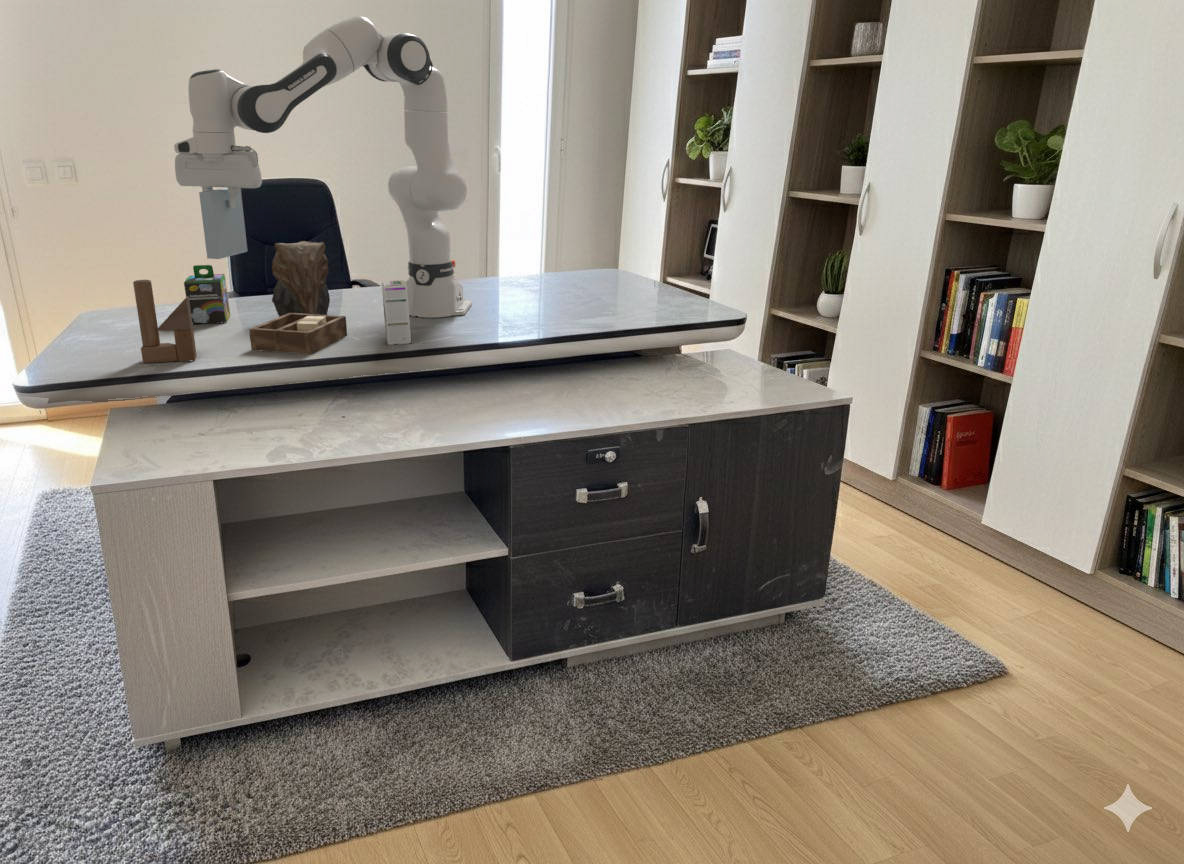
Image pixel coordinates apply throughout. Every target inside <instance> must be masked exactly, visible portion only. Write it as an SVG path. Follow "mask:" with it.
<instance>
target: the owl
mask: <svg viewBox="0 0 1184 864" xmlns="http://www.w3.org/2000/svg"><path fill="white" fill-rule="evenodd" d="M274 248H275V250H276V252H275V255H274V257H273V259H272V265H271V271H272V275H273V277H274V278H275V279H276V281H277V283H276V285H275V286H274V288H273V295H272V298H271V302H272V303H273V306H274V308H275V310H276V312H277V313H276V314H277V315H278V317H280V316H283V315H285V314H288V313H301V314H317V315H328V311H329V307H330V302H331V301H330V300H331V299H330V293H329V289H328V287H327V276H328V274H329V264H328V263H329V260H328V258H327V256H326V253H325V251H326V244H325V242H324V241H320V242H316V241H314V242H312V241H309V240H308V241H306V240H301V241H299V242H293V243H284V242H278V243H277V242H276V243H274Z"/></svg>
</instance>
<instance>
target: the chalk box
mask: <svg viewBox="0 0 1184 864" xmlns="http://www.w3.org/2000/svg"><path fill="white" fill-rule="evenodd" d="M192 270H193V274H194V275H189V276H188V277H187V278H185V281H184V282H183V285H184V286H183V287H184V294H185V298H186V297H187V296H189V302H190V310H191V317H192V323H212V324H221V323H220V322H223V323H222V324H225V323H224V322H226V323H227V322H228V321H229V319H230V317H231V311H230V310H231V309H230V302H229V296H228V288H227V281H226V275H225V273H214V269H213V265H211V264H200V265H199V264H198V265H197V264H196V265H193V267H192ZM201 270H205V271H206V270H207V273H200V271H201ZM217 322H218V323H217Z"/></svg>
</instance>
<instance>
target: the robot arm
mask: <svg viewBox="0 0 1184 864" xmlns="http://www.w3.org/2000/svg"><path fill="white" fill-rule="evenodd" d="M302 59H303V60H302V62H301V64H300V65H299V66H298V67H296V68H295V69H294V70H292V71H290V72H289V73H287V74H286V75H284V76H283V77H282V78H280V79H279V80H277V81H276V82H273V83H270V84H257V85H254V86H253V85H249V84H247V83H244V82H241V81H239V80H237V79H236V78H234V77H231V76H230V75H229V74H227V73H226V72H225V71H224V70H223V69H219V68H218V69H217V68H214V69H206V70H201V71H197V72H194V73H193V74H192V75H191V76H190V77H189V79H188V86H187V87H188V88H187V89H188V90H187V91H188V103H189V104H188V105H189V111H190V115H191V117H192V121H193V122H192V123H193V124H192V126H193V127H192V137H190V138H188V139H187V138H186V139H185V140H184V139H183V140H182V141H178V142H176V143H175V144H174V145H173V148H174V151H175V153H176V155H175V158H174V171H175V172H174V173H175V179H176V182H177V184H178V185H179V186H181V187H200V188H201V192H203V191H210V190H214V188H228V192H231V193H230V196H229V199H228V200H225V202H226V207H228V208H234V207H236V204H235V199H236V197H237V195H238V193H239V189H238V188H241V189H258V188H260V187H261V186H262V184H263V179H262V173H261V169H260V164H259V154H258V152H257V151H256V150H255V149H254V148H252V147H251V146H249V145H245V146H244V145H243V146H240V145H237V144H236V136H235V128H236V127H239V128H241V129H243V130H249V131H254V132H256V133H257V132H258V133H261V134H270V133H273V132H276V131H278V130H280V128H281V127H283V126H284V124H285V122H286V121H287V120H288V117H289V116H290V114H291V112H292V111H293V110H294V109H295V108H296V107H297V106H298V105H300V104H302V103H303V102H304V101H305V100H307V99H308V98H310V97H311V96H312V95H314V94H315V93H317V92H318V91H320V90H321V89H322V88H324V87H327V86H329V85H332V84H334V83H337V82H339V81H341V80H343V79H344V78H346V77H348V76H349V75H352V73H354V72H356V71H357V70H358V69H360V68H361V67H363V68H364V69H365V70H366V71H367V73H368V74H369V75H370V76H371V77H372V78H374V79H376V80H377V81H381V82H392V83H399V85H400V87H401V89H402V92H403V97H404V102H403V103H404V104H403V105H404V109H403V110H404V111H403V112H404V141H405V144H406V145H407V147H408V148H409V149H410V151H411V153H412V155H413V157H414V159H415V160H414V161H415V163H416V166H415V165H409V166H404V167H401V168H400V167H399V168H398V169H395V170H394V171H393V172H392V173H391V175H390V177H389V180H388V183H387V187H388V193H389V195H390V197H391V198H392V200H393V201H394V202H395V203H396V205H397V206H398V208H399V210H400V213H401V215H402V218H403V221H404V226H405V227H406V232H407V240H408V241H407V242H408V254H409V261H408V263H407V264H408V265H407V270H408V273H407V274H408V276H409V277H408V279H406V280H405V283H406V285H407V294H408V307H409V316H410V315H411V317H415V316H418V317H417V318H445V317H452V315H453V316H464V315H466V314H467V312H468V311H469V309H470V308H471V307H472V305H473V303H472V301H471V300H469V299H468V300H467V299H464V288H463V284H462V283H461V282H460V281H459V280H458V279H457V278H456V276H455V275H454V273H455V271H454V268H455V267H456V264H457V263H456V260H455V259H453V260H452V259H451V241H450V240H451V239H450V238H451V237H450V236H451V235H450V232H449V229H447V227H446V226H445V225H444V223H443V222H442V220H441V218H440V215H439V213H438V212H449V211H453V210H457V209H458V208H461V206H462V205H464V202H465V201H466V198H467V194H468V192H467V191H468V189H467V184H466V182H465V179H464V178H463V177H462V175H461V174H460V173H459V172H458V171H457V168H456V166H455V163H454V161H453V158H452V154H451V151H450V150H451V149H450V146H449V145H450V144H449V130H448V128H449V127H448V99H447V90H446V84H445V79H444V75H443V74H442V72H441V71H440V70H439V69H437V68H435V67H433V66H434V65H433V61H432V60H431V57H430V52H429V48H428V47H427V45H426V43H425V42H424V41H423V40H422V39H421V38H420V37H418V36H417V35H414V34H411V33H408V32H402V33H388V34H386V35H382V34H380V32H379V31H378V29H377V27H376V26H375V24H374V23H373V22H372V21H370V19H368V18H367V17H364V16H362V15H356V16H351V17H349V18H346V19H343V20H341V21H339V22H337V23H335V24H332V25H331V26H329V27H328V28H326V29H324V30H323V31H321V32H319V33H318V34H317V35H315V36H314V37H312V39H310V41H308V42H307V44H306V45H305V46H304V48H303V51H302Z"/></svg>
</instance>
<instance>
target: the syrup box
mask: <svg viewBox="0 0 1184 864" xmlns="http://www.w3.org/2000/svg"><path fill="white" fill-rule="evenodd" d="M405 282H406V280H389V281H382V282H381V293H382V302H383V303H382V304H383V305H382V306H383V315H384V317H383V318H384V328H385V329H384V330H385V340H386V343H387V345H390V346H391V345H392V346H393V345H394V344H398V345H409V343H411V344H412V338H411V337H412V336H411V321H410V315H409V307H408V294H407V285H406V283H405ZM394 346H395V345H394Z"/></svg>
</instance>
